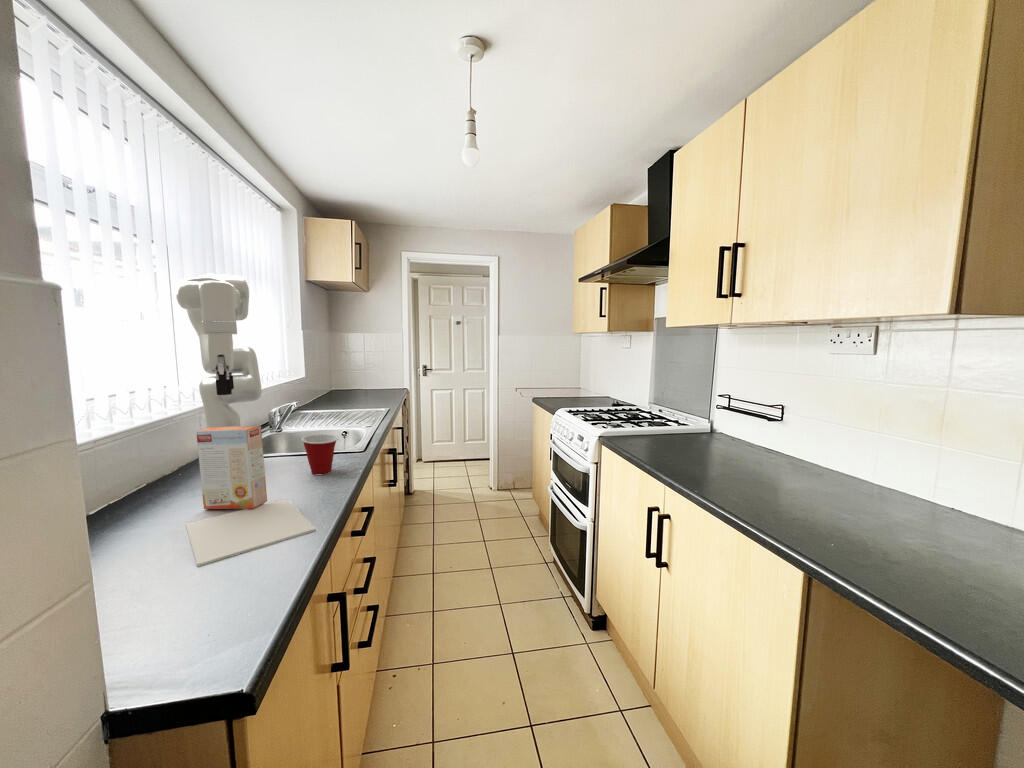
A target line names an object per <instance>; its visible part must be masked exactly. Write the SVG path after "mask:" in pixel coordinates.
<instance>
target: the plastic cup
mask: <svg viewBox="0 0 1024 768" xmlns="http://www.w3.org/2000/svg"><path fill="white" fill-rule="evenodd" d="M338 437H339V436H337V435H334V434H329V433H323V434H322V433H319V434H318V433H317V434H310V435H309V434H308V435H306V436H303V437H301V441H302V443H303V446H304V449H305V452H306V458H307V461H308V464H309V467H310V472H311V474H312V475H313V474H325V473H328V472H330V471H332V468H333V462H334V455H335V454H334V453H335V447H336V443H337V441H338V439H339V438H338ZM330 473H331V472H330ZM328 474H329V473H328ZM325 475H326V474H325Z"/></svg>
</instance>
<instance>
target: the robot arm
mask: <svg viewBox="0 0 1024 768" xmlns="http://www.w3.org/2000/svg"><path fill="white" fill-rule="evenodd" d="M175 296H176V300H177V302H178V305H179V306H180V307H181V309H184V310H186V313H187V315H188V319H189V321H190V323H191V325H192V327H193V329H194V330H195V332H196V333H197V336H198V339H199V347H200V356H201V364H202V367H203V370H204V371H205V372H206V373H208V374H211V375H214V376H207V377H205V378H204V379H202V380H201V381H200V383H199V386H198V387H199V395H200V398H201V400H202V401H201V402H202V406H203V409H204V416H205V425H206V426H205V427H206V429H207V428H212V427H241V418H240V413H238V411H237V410H236V409H235V408H233V407H232V406H230V404H235V403H236V404H237V403H248V402H255V401H259V400H260V399H261V397H262V393H263V392H262V383H261V376H260V369H259V363H258V362H259V361H258V357H257V354H256V352H255V349H253V348H252V347H250V346H243V345H241V346H239V345H237V346H236V345H235V346H234V342H233V335H238V327H237V321H238V322H239V321H244V320H245V319H247V318H248V315H249V306H250V305H249V303H250V288H249V285H248V283H247V281H246V280H245V278H244V277H241V276H239V275H229V274H215V273H206V274H203V275H199V277H195V278H194V277H192V278H191V277H190V278H182V279H179V281H178V282H177V283H176V289H175ZM233 374H234V375H233Z"/></svg>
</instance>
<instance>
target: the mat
mask: <svg viewBox="0 0 1024 768" xmlns="http://www.w3.org/2000/svg"><path fill="white" fill-rule="evenodd" d="M185 528H186V531H187V535H188V539H189V542H190V546H191V548H192V552H193V555H194V560H195V562H196V563H195V564H196V567H197V566H198V567H201V566H200V565H202V566H205V565H208V564H211V563H215V562H217V560H218V561H220V559H221V560H224V559H227V558H226V557H228V558H230V556H231V557H233V556H232V555H234V556H237V555H236V554H238V555H241V554H243V553H244V554H245V553H247V552H251V551H254V550H256V549H260V548H263V547H267V546H270V545H274V544H277V543H279V542H283V541H287V540H289V538H290V539H293V538H296V537H300V536H303V535H305V534H309V533H313V532H316V527H315V526H314V525H313V524H312V523H311V522H310V521H309V520H308V519H307V518H306V517H305V516H304V514H302V512H300V511H299V510H298V509H297V507H295V505H294V504H293V503H292V502H290V500H289V499H288V498H286V499H281V500H278V501H274V502H269V503H265V504H261V505H259V506H257V507H255V508H253V509H239V510H237V511H233V512H229V513H226V514H221V515H220V514H219V515H217V516H212V517H209V518H204V519H200V520H197V521H192V522H188V523H186V524H185ZM286 539H287V540H286ZM273 543H274V544H273ZM240 553H241V554H240ZM214 561H215V562H214ZM204 564H205V565H204Z"/></svg>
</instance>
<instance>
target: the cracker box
mask: <svg viewBox="0 0 1024 768" xmlns="http://www.w3.org/2000/svg"><path fill="white" fill-rule="evenodd" d="M240 426H241V425H240ZM196 443H197V451H198V463H199V472H200V473H199V475H200V484H201V493H202V505H203V510H230V509H231V510H244V509H253V508H255V507H257V506H261V505H264V503H265V504H266V502H268V495H267V492H268V491H267V484H266V482H267V480H266V472H265V471H266V469H265V458H264V448H263V447H264V446H263V435H262V426H261V425H256V426H255V425H254V426H252V425H251V426H245V425H244V426H241V427H212V428H207V427H206V428H204V429H201V430H200V429H199V430H196Z"/></svg>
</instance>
